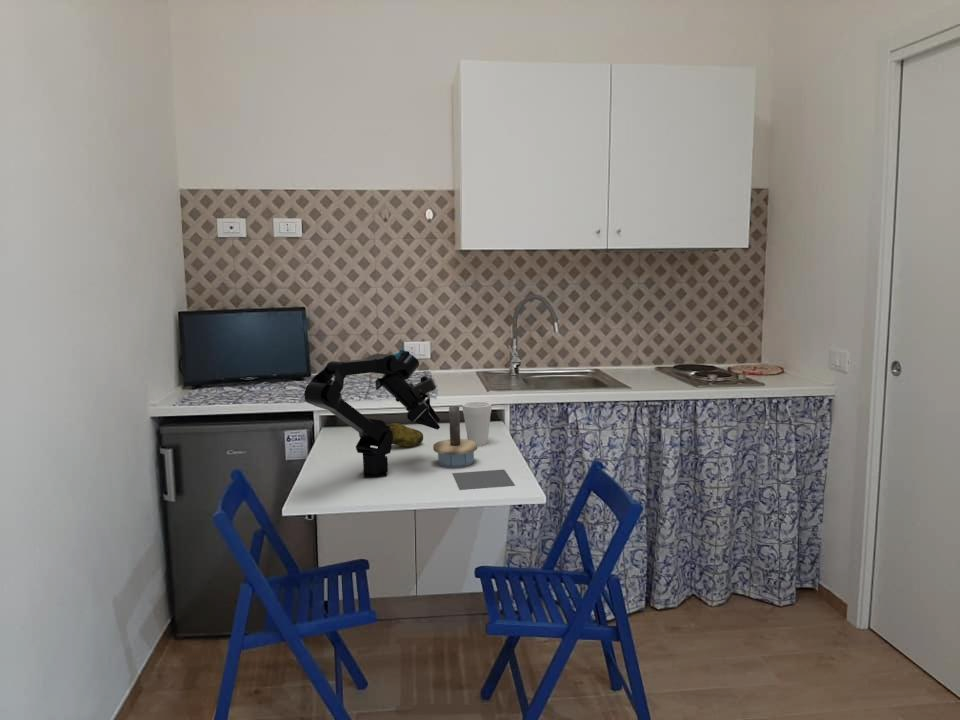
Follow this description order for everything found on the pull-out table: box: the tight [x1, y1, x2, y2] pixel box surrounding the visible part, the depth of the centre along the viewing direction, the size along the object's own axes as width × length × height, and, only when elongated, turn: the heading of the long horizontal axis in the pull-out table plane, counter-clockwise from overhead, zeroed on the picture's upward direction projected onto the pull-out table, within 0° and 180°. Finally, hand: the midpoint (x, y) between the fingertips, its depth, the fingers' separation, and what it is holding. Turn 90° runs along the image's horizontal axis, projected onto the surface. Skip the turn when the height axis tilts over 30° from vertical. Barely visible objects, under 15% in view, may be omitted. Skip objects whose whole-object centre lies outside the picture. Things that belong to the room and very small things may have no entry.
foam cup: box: [462, 400, 492, 447], centre depth 239 cm, size 10×9×13 cm
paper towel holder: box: [432, 405, 478, 455], centre depth 216 cm, size 13×13×12 cm
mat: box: [451, 469, 516, 491], centre depth 201 cm, size 15×15×1 cm
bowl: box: [437, 451, 475, 468], centre depth 218 cm, size 10×10×4 cm
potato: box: [387, 422, 424, 448], centre depth 238 cm, size 8×13×8 cm, turn 98°
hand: (439, 424), depth 216 cm, fingers open, 9 cm apart
